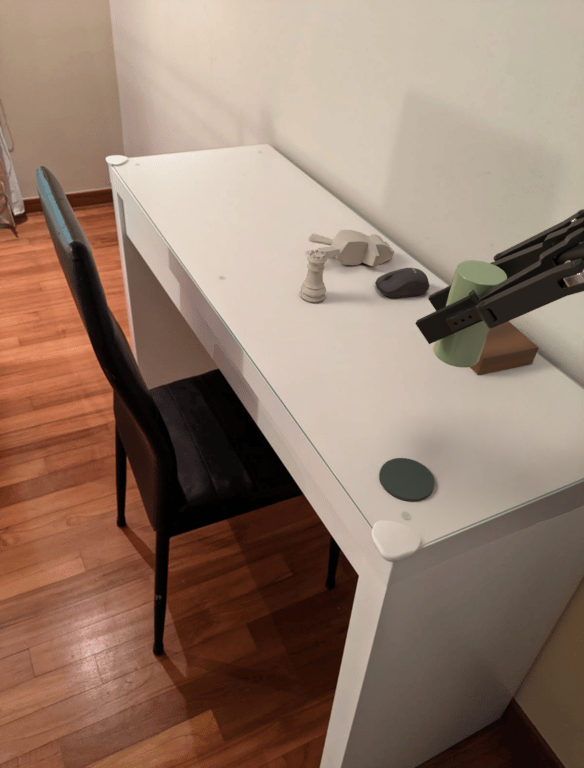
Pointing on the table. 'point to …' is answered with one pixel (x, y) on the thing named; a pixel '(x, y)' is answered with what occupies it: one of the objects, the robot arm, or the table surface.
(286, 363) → the table surface
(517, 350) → the walnut platform
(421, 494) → the coaster
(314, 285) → the rook chess piece
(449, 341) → the green round cylinder
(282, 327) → the table surface
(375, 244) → the bunny figurine
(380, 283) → the computer mouse
